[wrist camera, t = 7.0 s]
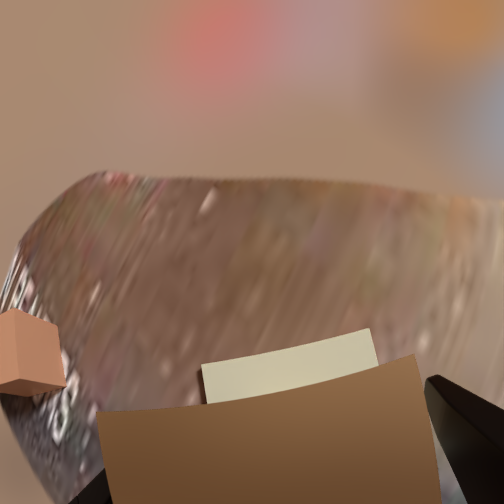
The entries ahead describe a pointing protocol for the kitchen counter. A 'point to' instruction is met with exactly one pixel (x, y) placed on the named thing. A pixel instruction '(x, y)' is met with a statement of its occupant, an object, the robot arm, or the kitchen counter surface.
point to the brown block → (281, 446)
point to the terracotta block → (29, 355)
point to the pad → (289, 367)
